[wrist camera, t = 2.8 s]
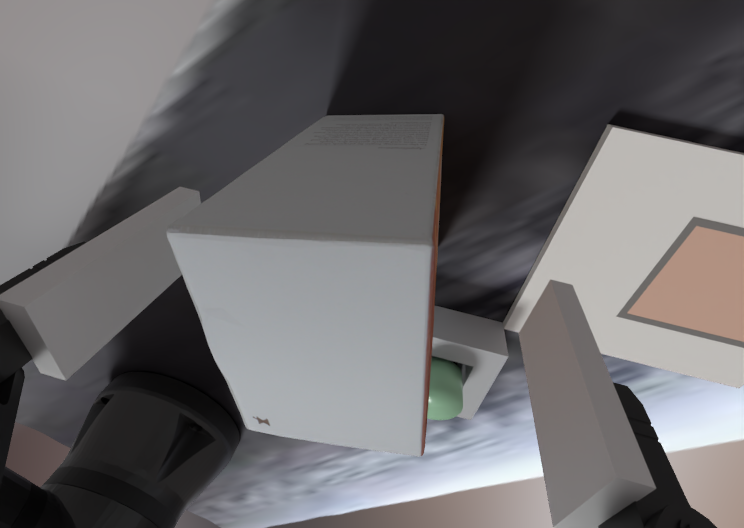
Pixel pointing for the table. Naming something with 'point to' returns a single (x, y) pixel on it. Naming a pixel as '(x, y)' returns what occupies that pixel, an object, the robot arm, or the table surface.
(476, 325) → the button box
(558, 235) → the sheet
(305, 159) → the small box
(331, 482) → the table surface
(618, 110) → the table surface
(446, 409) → the button
